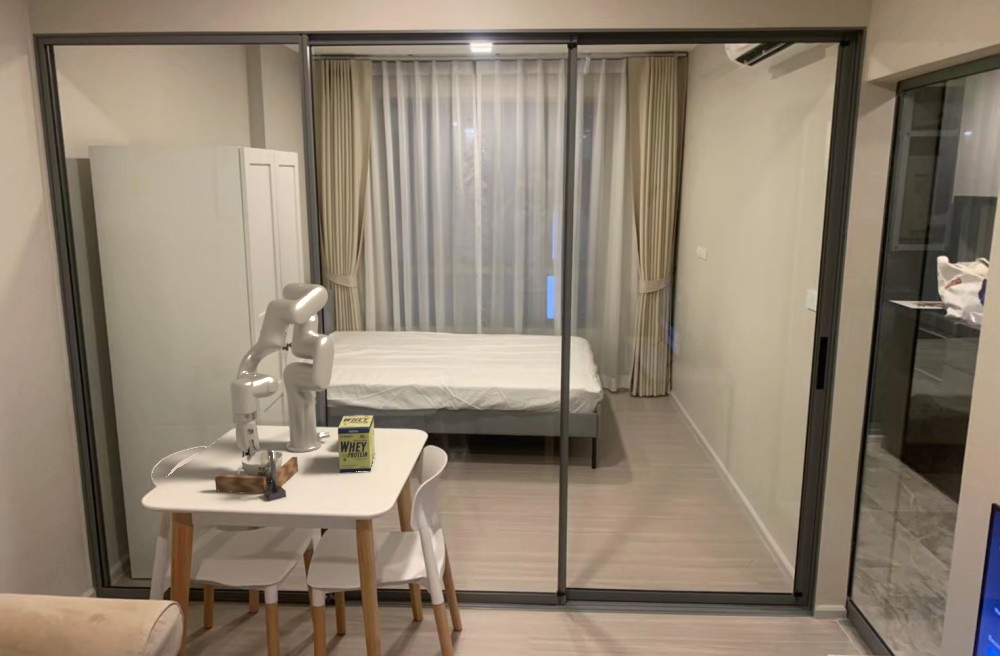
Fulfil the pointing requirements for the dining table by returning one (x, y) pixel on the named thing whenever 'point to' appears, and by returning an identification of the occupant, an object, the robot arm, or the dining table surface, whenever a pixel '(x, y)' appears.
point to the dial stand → (272, 476)
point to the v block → (255, 479)
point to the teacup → (258, 466)
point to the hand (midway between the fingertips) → (248, 469)
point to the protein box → (356, 443)
